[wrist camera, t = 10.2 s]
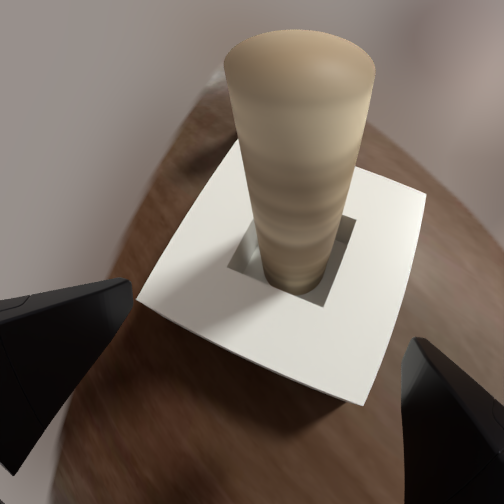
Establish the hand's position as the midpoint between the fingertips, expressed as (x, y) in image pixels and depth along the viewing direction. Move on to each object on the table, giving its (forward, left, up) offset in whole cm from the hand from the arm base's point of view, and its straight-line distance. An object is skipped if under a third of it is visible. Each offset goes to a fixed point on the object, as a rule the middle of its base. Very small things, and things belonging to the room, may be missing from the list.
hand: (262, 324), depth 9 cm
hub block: (+5, +1, -9) cm, 10 cm away
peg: (+5, +1, -8) cm, 9 cm away
